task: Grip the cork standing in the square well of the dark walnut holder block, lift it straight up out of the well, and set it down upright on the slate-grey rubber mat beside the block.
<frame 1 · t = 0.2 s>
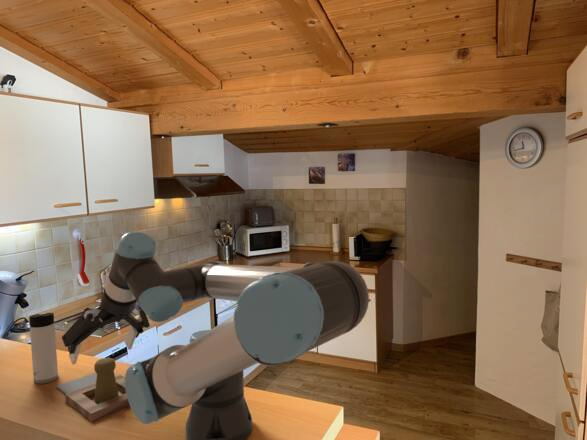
hand: (101, 352, 108), 15 cm above the worktop, tool tilted 35°, fingers open, 13 cm apart
grey mat: (87, 384, 125), on the worktop
travel mug: (46, 380, 128), on the worktop
cork: (106, 400, 116), on the worktop
walnut holder: (106, 399, 116), on the worktop
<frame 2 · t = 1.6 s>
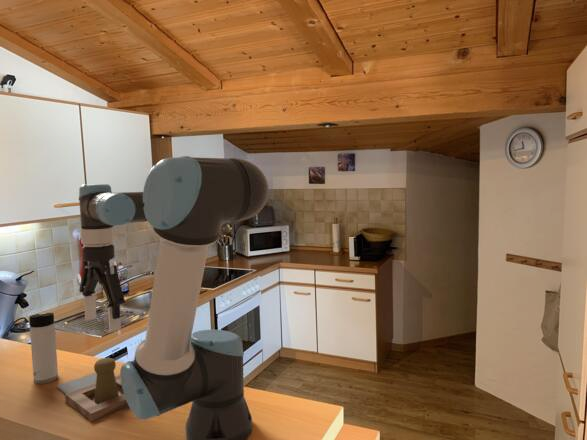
hand: (102, 324, 114), 20 cm above the worktop, tool pointing down, fingers open, 13 cm apart
nothing on the worktop moved.
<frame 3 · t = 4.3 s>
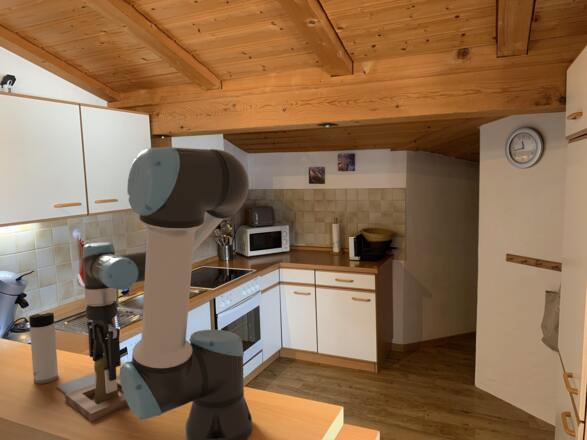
hand: (106, 387, 116), 3 cm above the worktop, tool pointing down, fingers closed on cork, 5 cm apart
cork: (107, 400, 116), on the worktop, touching gripper
everything else where it was.
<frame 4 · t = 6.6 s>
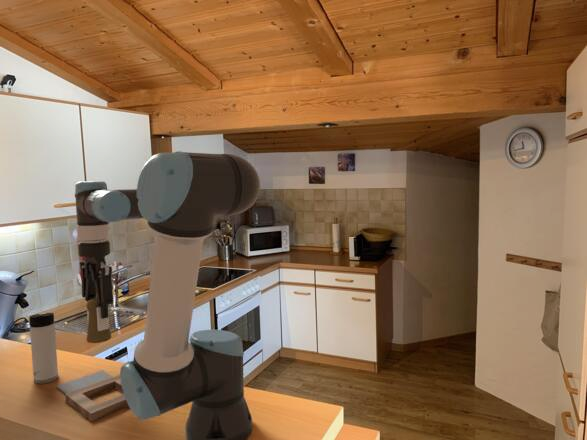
hand: (98, 326, 116), 19 cm above the worktop, tool pointing down, fingers closed on cork, 5 cm apart
cork: (99, 339, 117), point 16 cm above the worktop, touching gripper
everything else where it was.
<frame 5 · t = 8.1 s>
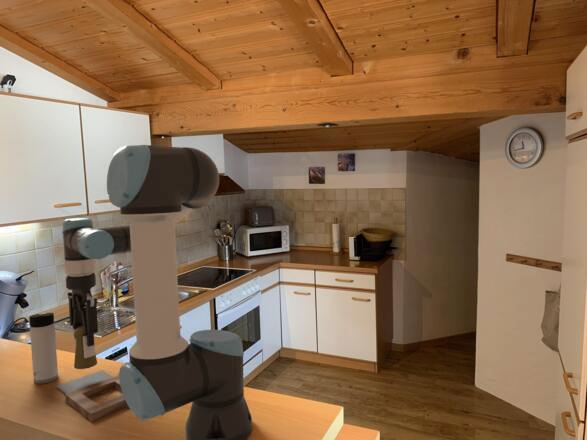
hand: (85, 353, 124), 9 cm above the worktop, tool pointing down, fingers closed on cork, 5 cm apart
cork: (85, 365, 125), point 6 cm above the worktop, touching gripper
everything else where it was.
when the fingers open (5 cm above the worktop, at t = 9.1 s): cork drops 1 cm, resting on grey mat.
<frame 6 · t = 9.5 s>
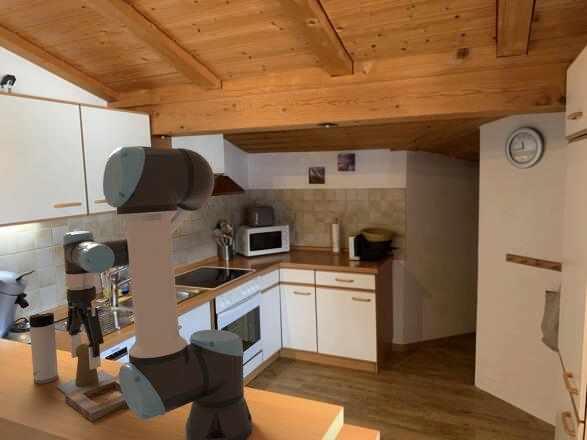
hand: (85, 361, 124), 7 cm above the worktop, tool pointing down, fingers open, 11 cm apart
cork: (87, 382, 125), resting on grey mat
everything else where it was.
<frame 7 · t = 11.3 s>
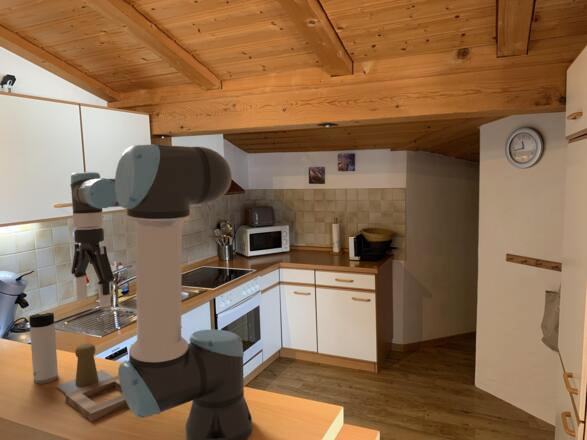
hand: (93, 302, 124), 24 cm above the worktop, tool pointing down, fingers open, 13 cm apart
nothing on the worktop moved.
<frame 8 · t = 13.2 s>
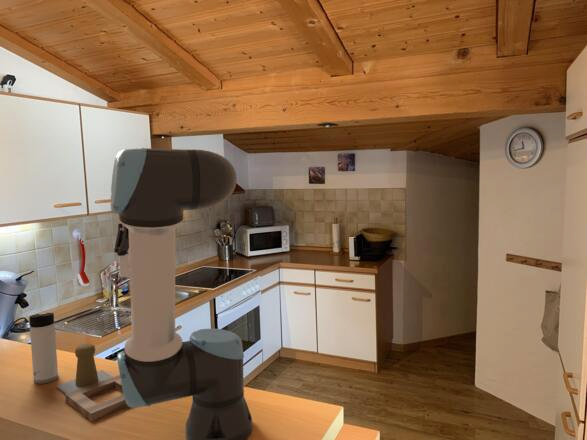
hand: (136, 279, 129), 29 cm above the worktop, tool pointing down, fingers open, 13 cm apart
nothing on the worktop moved.
at the end: cork inside the target area on the grey mat (0.1 cm from its centre), point 0.4 cm above the grey mat's base; cork tilted 0°; the gripper is holding nothing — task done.
